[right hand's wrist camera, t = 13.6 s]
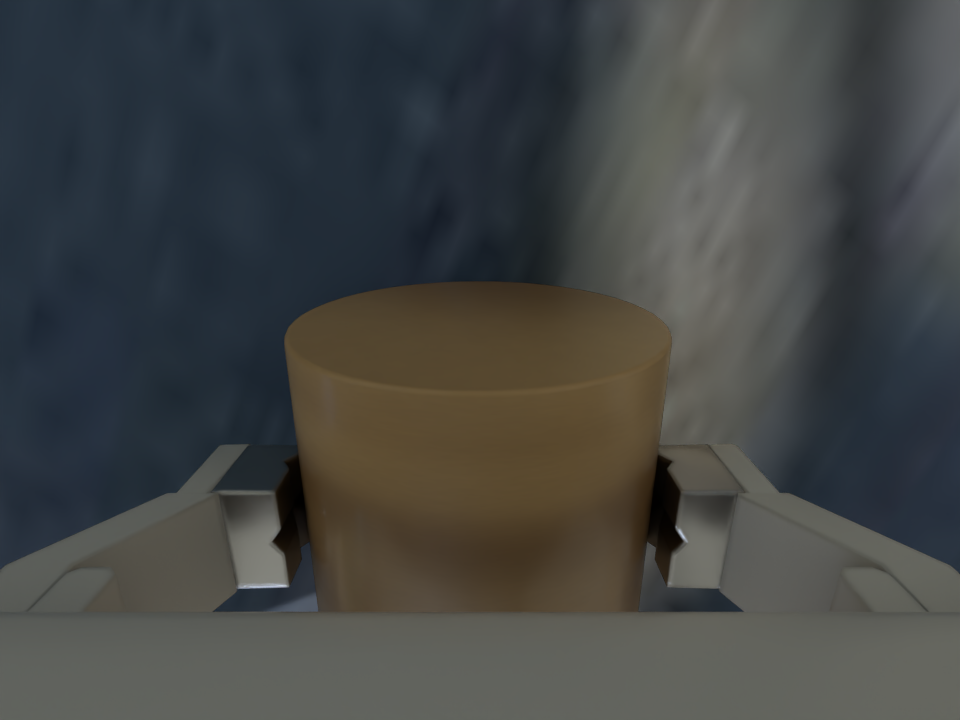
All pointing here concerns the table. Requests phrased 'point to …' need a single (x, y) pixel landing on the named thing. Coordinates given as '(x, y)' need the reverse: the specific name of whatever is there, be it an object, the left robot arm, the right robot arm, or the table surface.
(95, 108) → the table surface
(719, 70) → the table surface
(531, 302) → the rod
